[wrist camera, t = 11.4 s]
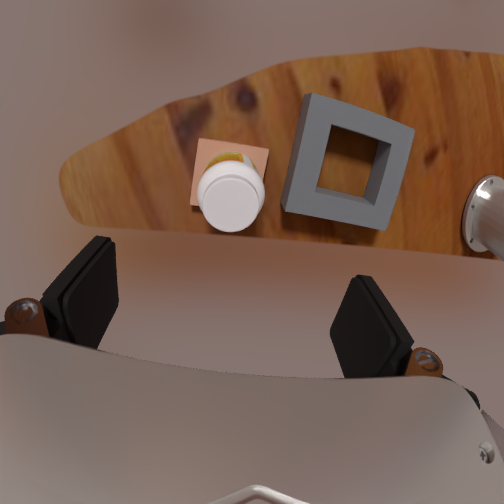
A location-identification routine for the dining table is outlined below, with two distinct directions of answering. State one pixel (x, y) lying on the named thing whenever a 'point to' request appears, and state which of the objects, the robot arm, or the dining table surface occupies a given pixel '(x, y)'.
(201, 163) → the mat
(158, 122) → the dining table surface
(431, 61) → the dining table surface
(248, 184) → the supplement bottle
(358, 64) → the dining table surface
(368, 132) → the frame
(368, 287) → the robot arm
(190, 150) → the dining table surface
